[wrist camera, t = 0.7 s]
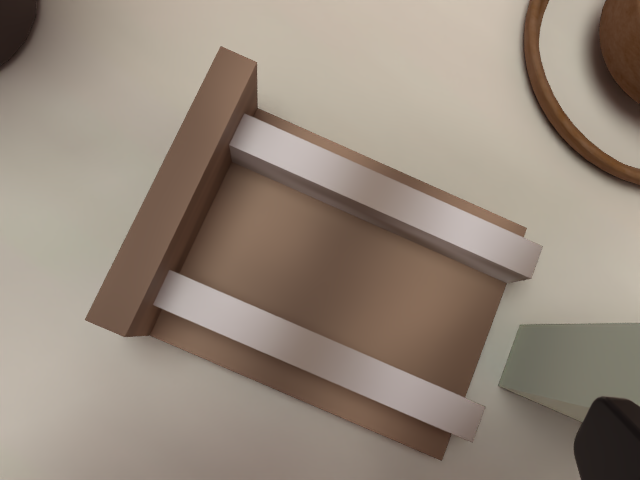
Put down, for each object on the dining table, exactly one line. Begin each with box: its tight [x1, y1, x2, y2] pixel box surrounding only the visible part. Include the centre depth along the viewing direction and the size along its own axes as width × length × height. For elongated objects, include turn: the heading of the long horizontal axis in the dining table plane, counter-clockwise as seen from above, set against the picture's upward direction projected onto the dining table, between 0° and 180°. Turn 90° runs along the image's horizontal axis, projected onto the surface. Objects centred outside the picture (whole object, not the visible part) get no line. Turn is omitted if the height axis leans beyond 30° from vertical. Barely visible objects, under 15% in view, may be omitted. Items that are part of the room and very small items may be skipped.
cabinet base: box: [85, 46, 543, 461], centre depth 20 cm, size 12×9×5 cm
